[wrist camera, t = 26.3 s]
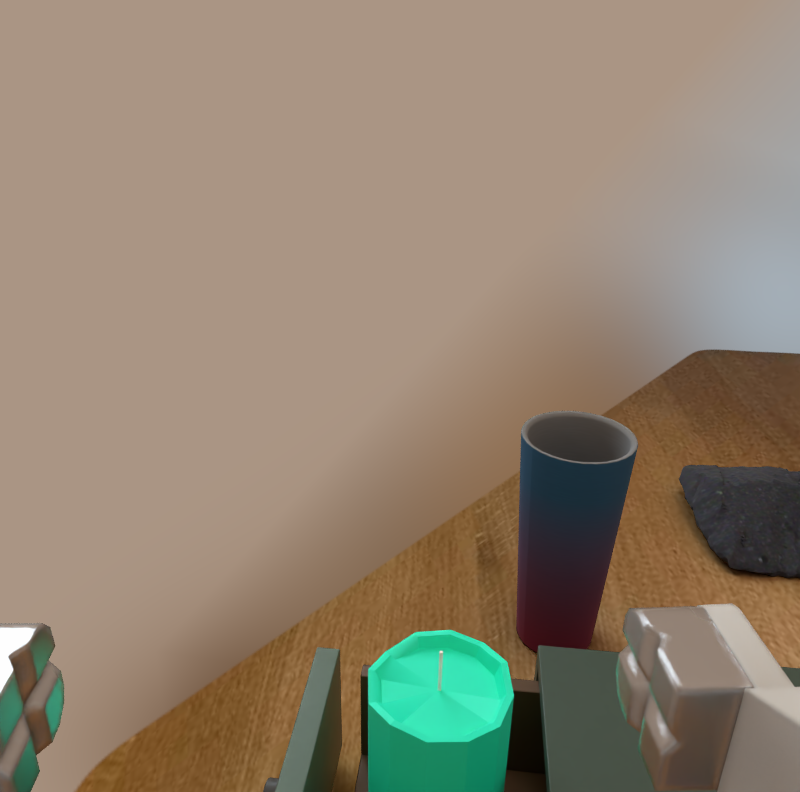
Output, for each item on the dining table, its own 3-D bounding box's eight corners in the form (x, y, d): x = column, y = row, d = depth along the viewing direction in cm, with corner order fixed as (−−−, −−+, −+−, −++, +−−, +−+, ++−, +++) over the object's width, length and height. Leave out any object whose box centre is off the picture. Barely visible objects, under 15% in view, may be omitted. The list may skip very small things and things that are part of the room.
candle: (466, 780, 39) (480, 590, 34) (518, 894, 33) (544, 690, 28) (351, 812, 37) (349, 617, 32) (388, 938, 32) (392, 728, 27)
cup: (562, 588, 56) (585, 402, 49) (627, 647, 50) (663, 448, 44) (483, 616, 53) (499, 423, 46) (544, 682, 47) (570, 474, 41)
